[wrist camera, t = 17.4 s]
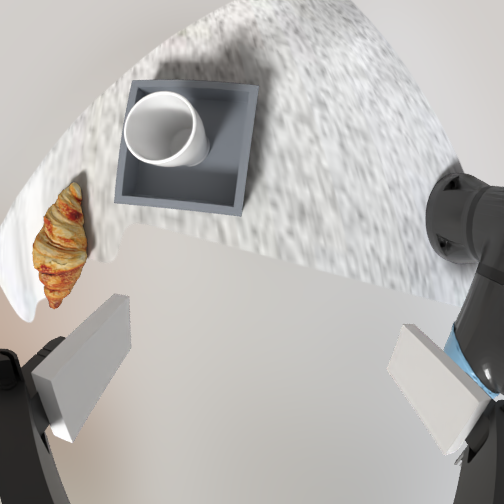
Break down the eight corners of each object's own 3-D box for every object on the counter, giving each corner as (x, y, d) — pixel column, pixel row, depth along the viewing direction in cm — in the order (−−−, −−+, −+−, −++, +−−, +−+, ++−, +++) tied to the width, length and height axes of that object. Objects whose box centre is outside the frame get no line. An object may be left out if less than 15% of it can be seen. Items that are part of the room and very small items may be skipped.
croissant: (77, 178, 42) (38, 172, 34) (108, 191, 38) (62, 185, 31) (58, 292, 45) (23, 297, 38) (85, 320, 42) (45, 328, 34)
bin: (257, 99, 37) (259, 85, 31) (242, 212, 40) (241, 216, 34) (146, 93, 36) (132, 80, 30) (131, 200, 39) (114, 203, 33)
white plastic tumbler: (223, 132, 37) (209, 101, 22) (204, 179, 38) (179, 175, 23) (177, 117, 36) (140, 82, 21) (159, 163, 37) (111, 152, 23)
